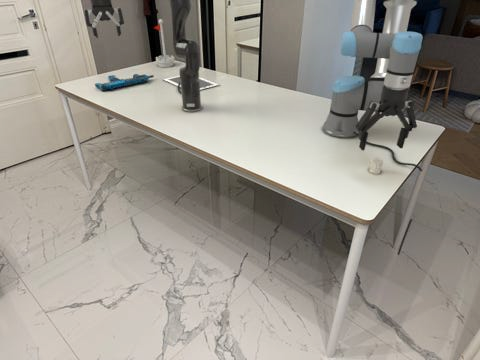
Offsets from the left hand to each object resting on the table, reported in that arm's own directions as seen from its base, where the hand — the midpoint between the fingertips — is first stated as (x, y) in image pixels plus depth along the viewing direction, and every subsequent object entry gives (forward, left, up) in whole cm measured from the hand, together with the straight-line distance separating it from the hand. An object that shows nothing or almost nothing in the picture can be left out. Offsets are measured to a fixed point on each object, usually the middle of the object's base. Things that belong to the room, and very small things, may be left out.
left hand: (108, 36), depth 139 cm
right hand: (+84, +74, -28) cm, 115 cm away
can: (+84, +73, -37) cm, 118 cm away
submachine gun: (-61, +10, -37) cm, 72 cm away
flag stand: (-90, +44, -37) cm, 107 cm away
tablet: (-43, +47, -37) cm, 74 cm away
